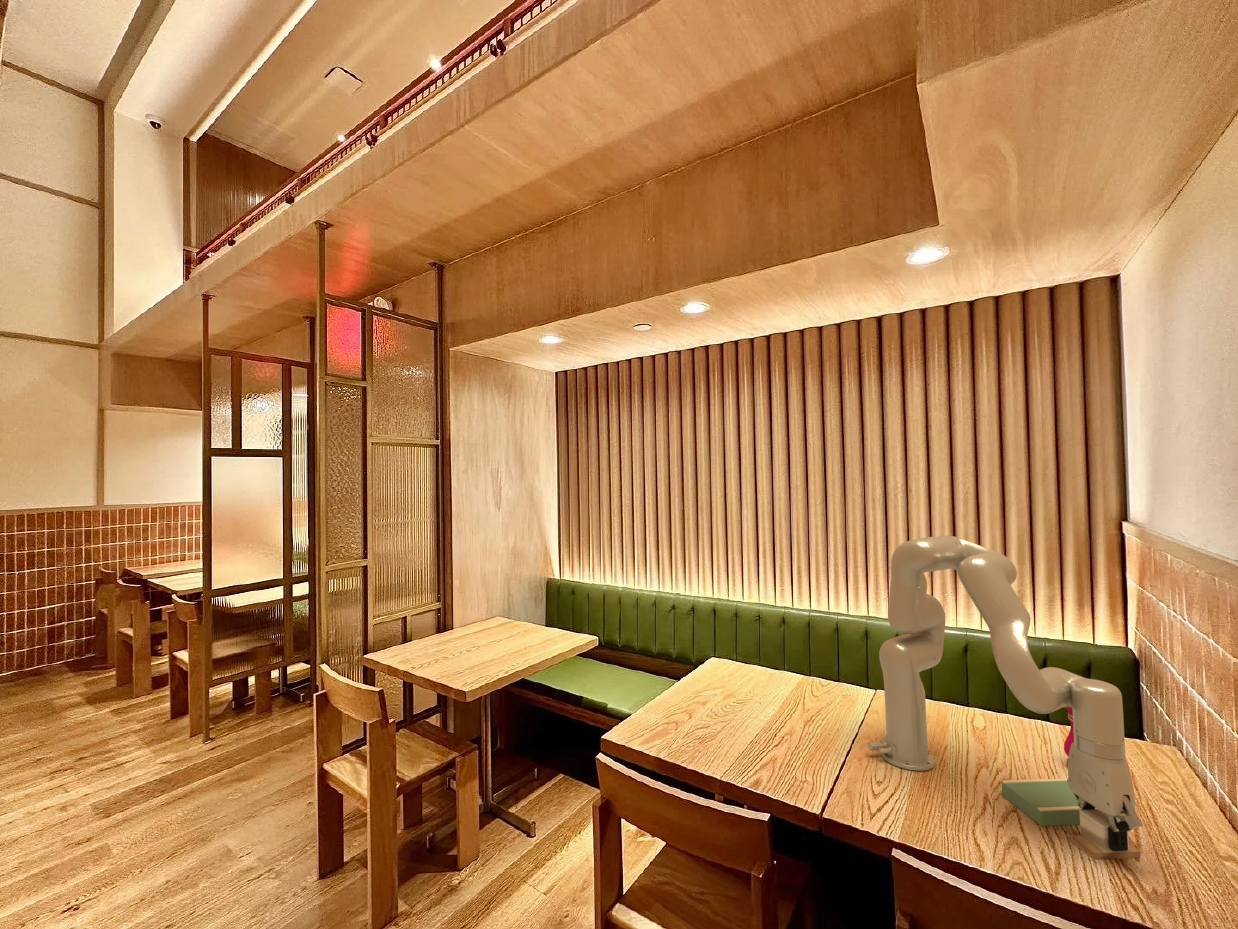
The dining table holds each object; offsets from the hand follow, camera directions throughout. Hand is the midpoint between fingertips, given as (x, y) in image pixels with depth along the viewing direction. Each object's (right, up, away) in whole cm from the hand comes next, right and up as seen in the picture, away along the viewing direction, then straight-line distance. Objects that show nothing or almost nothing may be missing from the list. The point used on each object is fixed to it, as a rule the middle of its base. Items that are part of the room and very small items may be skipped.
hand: (1104, 839), depth 104 cm
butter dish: (0, -2, 0) cm, 2 cm away
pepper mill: (+21, -3, +28) cm, 35 cm away
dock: (+2, -3, +13) cm, 13 cm away
